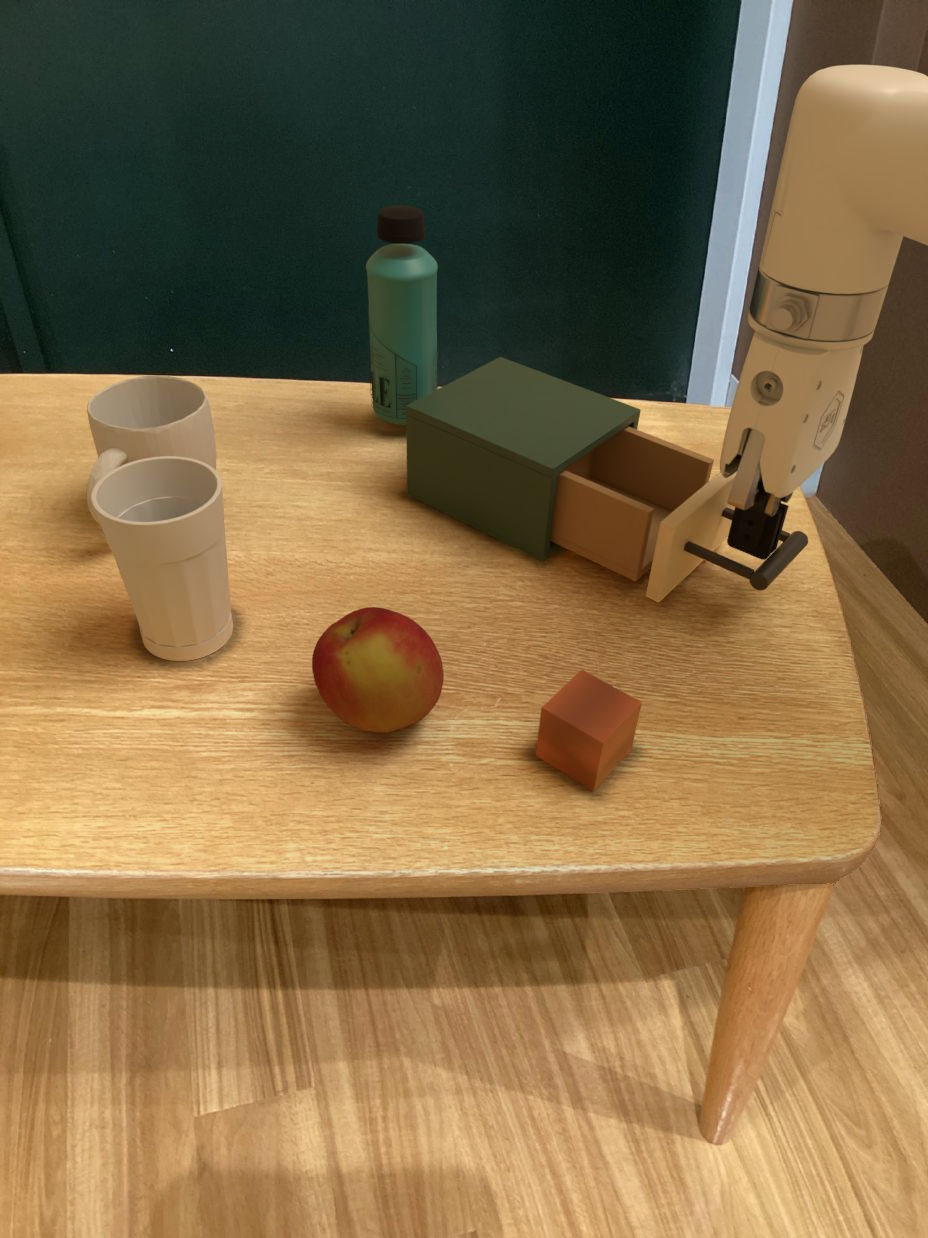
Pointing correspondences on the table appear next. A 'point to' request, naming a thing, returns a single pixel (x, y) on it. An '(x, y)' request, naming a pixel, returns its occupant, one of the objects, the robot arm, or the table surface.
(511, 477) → the cabinet
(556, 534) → the drawer
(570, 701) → the block
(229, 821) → the table surface
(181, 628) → the cup
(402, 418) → the beverage bottle
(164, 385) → the mug
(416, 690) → the apple
